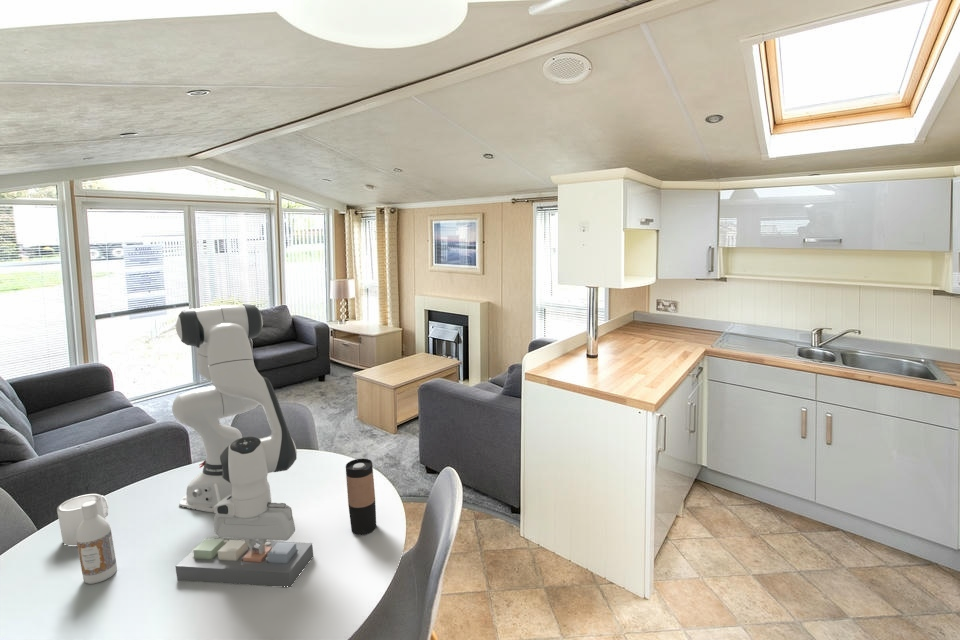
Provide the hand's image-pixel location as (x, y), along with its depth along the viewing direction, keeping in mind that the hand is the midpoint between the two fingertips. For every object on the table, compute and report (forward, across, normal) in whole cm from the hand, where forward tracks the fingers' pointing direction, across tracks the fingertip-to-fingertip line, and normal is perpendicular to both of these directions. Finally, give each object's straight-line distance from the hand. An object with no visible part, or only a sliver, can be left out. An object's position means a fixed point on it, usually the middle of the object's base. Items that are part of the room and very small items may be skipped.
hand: (257, 552), depth 127 cm
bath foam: (+5, +41, +6) cm, 41 cm away
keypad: (+5, +4, 0) cm, 6 cm away
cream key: (+2, +7, 0) cm, 7 cm away
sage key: (+3, +14, 0) cm, 14 cm away
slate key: (+3, -7, 0) cm, 7 cm away
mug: (+5, +62, -11) cm, 63 cm away
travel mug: (+5, -20, -20) cm, 29 cm away
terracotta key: (+4, 0, 0) cm, 4 cm away
